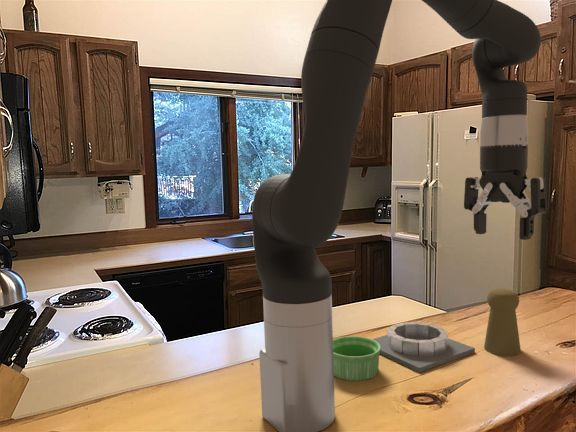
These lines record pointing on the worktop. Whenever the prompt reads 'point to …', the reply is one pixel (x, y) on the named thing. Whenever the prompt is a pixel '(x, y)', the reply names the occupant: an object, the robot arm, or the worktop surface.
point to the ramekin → (355, 358)
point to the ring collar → (417, 347)
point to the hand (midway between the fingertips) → (502, 236)
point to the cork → (502, 323)
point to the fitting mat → (427, 362)
